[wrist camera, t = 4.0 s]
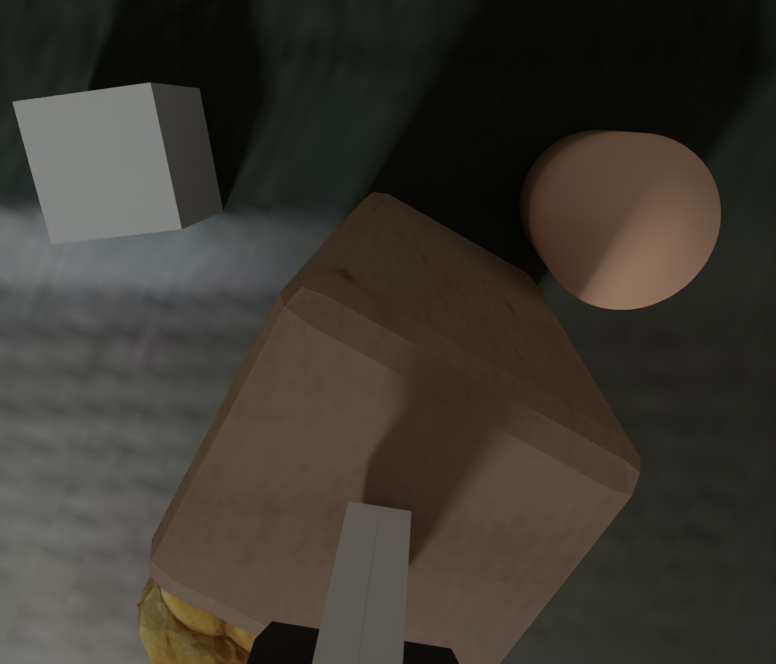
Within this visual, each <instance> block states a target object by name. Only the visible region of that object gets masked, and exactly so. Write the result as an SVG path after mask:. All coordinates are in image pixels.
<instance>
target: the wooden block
mask: <svg viewBox="0 0 776 664" xmlns="http://www.w3.org/2000/svg"><path fill="white" fill-rule="evenodd" d="M640 462H641V459H640V457H639V456H638V454H637V452H636V450H635V449H634V447H633V445H632V444H631V442H630V440H629V439H628V437H627V435H626V434H625V432H624V430H623V429H622V427H621V425H620V424H619V422H618V420H617V419H616V417H615V415H614V414H613V412H612V410H611V409H610V407H609V405H608V404H607V402H606V400H605V399H604V397H603V395H602V394H601V392H600V390H599V388H598V387H597V385H596V383H595V382H594V380H593V378H592V377H591V375H590V373H589V372H588V370H587V368H586V367H585V365H584V363H583V362H582V360H581V358H580V357H579V355H578V353H577V352H576V350H575V348H574V347H573V345H572V343H571V342H570V340H569V338H568V337H567V335H566V333H565V332H564V330H563V328H562V326H561V325H560V323H559V321H558V320H557V318H556V316H555V315H554V313H553V311H552V310H551V308H550V306H549V305H548V303H547V301H546V300H545V298H544V296H543V295H542V293H541V291H540V290H539V288H538V286H537V285H536V284H535V282H534V281H533V279H532V278H531V277H530V275H529V274H528V273H526V272H524V271H522V270H521V269H519V268H517V267H515V266H514V265H512V264H510V263H508V262H507V261H505V260H503V259H501V258H500V257H498V256H496V255H494V254H493V253H491V252H489V251H487V250H486V249H484V248H482V247H480V246H479V245H477V244H475V243H473V242H472V241H470V240H468V239H466V238H465V237H463V236H461V235H459V234H458V233H456V232H454V231H452V230H451V229H449V228H447V227H445V226H444V225H442V224H440V223H438V222H437V221H435V220H433V219H431V218H430V217H428V216H426V215H424V214H423V213H421V212H419V211H417V210H416V209H414V208H412V207H410V206H409V205H407V204H405V203H403V202H402V201H400V200H398V199H396V198H395V197H393V196H391V195H389V194H384V193H376V192H372V193H371V194H370V195H369V196H368V197H366V198H365V199H364V200H363V201H361V202H360V203H359V205H358V206H357V207H356V208H355V209H354V210H353V211H352V212H351V214H350V215H349V216H348V217H347V218H346V219H345V220H344V221H343V222H342V224H341V225H340V226H339V227H338V228H337V229H336V230H335V231H334V233H333V234H332V235H331V236H330V237H329V238H328V239H327V240H326V242H325V243H324V244H323V245H322V246H321V247H320V248H319V249H318V251H317V252H316V253H315V254H314V255H313V256H312V257H311V258H310V260H309V261H308V262H307V263H306V264H305V265H304V266H303V267H302V268H301V270H300V271H299V272H298V273H297V274H296V275H295V276H294V277H293V279H292V280H291V281H290V282H289V283H288V284H287V285H286V286H285V288H284V289H283V290H282V291H281V292H280V294H279V295H278V297H277V299H276V301H275V303H274V305H273V307H272V309H271V311H270V313H269V315H268V317H267V319H266V321H265V322H264V324H263V326H262V328H261V330H260V332H259V334H258V336H257V338H256V340H255V342H254V344H253V346H252V348H251V349H250V351H249V353H248V355H247V357H246V359H245V361H244V363H243V365H242V367H241V369H240V371H239V373H238V374H237V376H236V378H235V380H234V382H233V384H232V386H231V388H230V390H229V392H228V394H227V396H226V398H225V400H224V401H223V403H222V405H221V407H220V409H219V411H218V413H217V415H216V417H215V419H214V421H213V423H212V425H211V427H210V428H209V430H208V432H207V434H206V436H205V438H204V440H203V442H202V444H201V446H200V448H199V450H198V452H197V453H196V455H195V457H194V459H193V461H192V463H191V465H190V467H189V469H188V471H187V473H186V475H185V477H184V479H183V480H182V482H181V484H180V486H179V488H178V490H177V492H176V494H175V496H174V498H173V500H172V502H171V504H170V506H169V507H168V509H167V511H166V513H165V515H164V517H163V519H162V521H161V523H160V525H159V527H158V529H157V531H156V532H155V534H154V536H153V538H152V554H151V567H150V576H151V577H152V578H153V579H154V580H155V581H156V582H157V583H158V584H159V585H160V586H161V587H162V588H163V590H164V591H166V592H168V593H170V594H172V595H174V596H176V597H178V598H180V599H182V600H184V601H186V602H188V603H190V604H192V605H194V606H196V607H198V608H200V609H202V610H204V611H206V612H208V613H210V614H212V615H214V616H216V617H218V618H220V619H222V620H224V621H226V622H228V623H230V624H232V625H235V626H237V627H239V628H241V629H243V630H245V631H247V632H249V633H251V634H253V635H255V636H258V635H259V634H260V633H261V632H262V631H263V630H264V629H265V628H266V627H267V626H268V625H269V624H270V623H271V622H272V621H274V622H281V623H287V624H293V625H299V626H305V627H311V628H318V629H320V625H321V621H322V616H323V612H324V608H325V603H326V599H327V594H328V590H329V585H330V581H331V576H332V572H333V567H334V563H335V558H336V554H337V549H338V545H339V540H340V536H341V531H342V527H343V522H344V518H345V513H346V509H347V504H348V501H350V502H357V503H363V504H369V505H376V506H382V507H388V508H395V509H401V510H407V511H411V526H410V544H409V561H408V579H407V597H406V614H405V632H404V641H409V642H415V643H421V644H427V645H433V646H439V647H446V648H451V649H452V651H453V653H454V655H455V657H456V659H457V660H458V662H459V664H500V662H501V661H502V660H503V659H504V657H505V656H506V655H507V654H508V652H509V651H510V650H511V648H512V647H513V646H514V645H515V643H516V642H517V641H518V640H519V638H520V637H521V636H522V634H523V633H524V632H525V631H526V629H527V628H528V627H529V626H530V624H531V623H532V622H533V621H534V619H535V618H536V617H537V615H538V614H539V613H540V612H541V610H542V609H543V608H544V607H545V605H546V604H547V603H548V601H549V600H550V599H551V598H552V596H553V595H554V594H555V593H556V591H557V590H558V589H559V588H560V586H561V585H562V584H563V582H564V581H565V580H566V579H567V577H568V576H569V575H570V574H571V572H572V571H573V570H574V568H575V567H576V566H577V565H578V563H579V562H580V561H581V560H582V558H583V557H584V556H585V555H586V553H587V552H588V551H589V549H590V548H591V547H592V546H593V544H594V543H595V542H596V541H597V539H598V538H599V537H600V535H601V534H602V533H603V532H604V530H605V529H606V528H607V527H608V525H609V524H610V523H611V522H612V520H613V519H614V518H615V516H616V515H617V514H618V513H619V511H620V510H621V509H622V508H623V506H624V505H625V504H626V502H627V501H628V500H629V499H630V497H631V496H632V493H633V491H634V488H635V485H636V482H637V479H638V476H639V473H640Z"/></svg>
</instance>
